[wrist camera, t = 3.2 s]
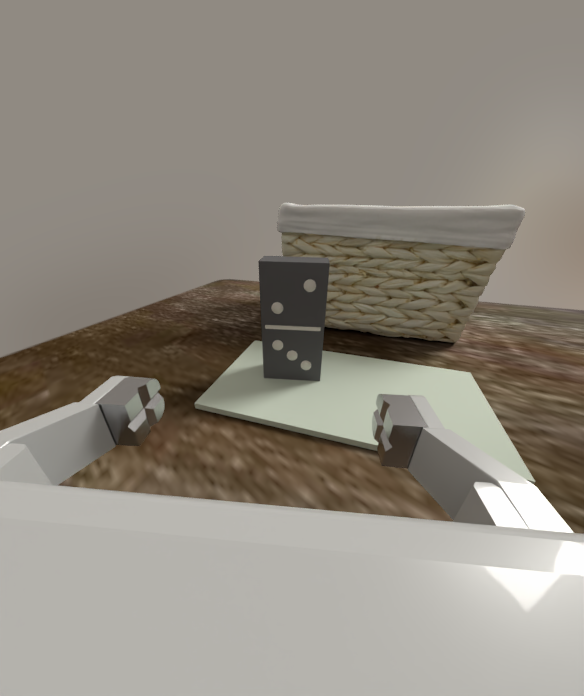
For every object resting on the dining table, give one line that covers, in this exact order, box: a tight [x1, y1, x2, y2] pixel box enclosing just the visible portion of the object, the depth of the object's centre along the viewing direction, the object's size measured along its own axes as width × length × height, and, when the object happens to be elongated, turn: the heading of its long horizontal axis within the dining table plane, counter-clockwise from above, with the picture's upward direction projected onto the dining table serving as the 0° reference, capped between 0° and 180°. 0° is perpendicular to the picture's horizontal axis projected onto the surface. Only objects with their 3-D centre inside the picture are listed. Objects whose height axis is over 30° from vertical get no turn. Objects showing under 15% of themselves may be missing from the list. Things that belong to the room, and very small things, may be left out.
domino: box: [259, 256, 330, 381], centre depth 21 cm, size 5×3×10 cm, turn 86°
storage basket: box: [277, 203, 525, 343], centre depth 34 cm, size 24×16×15 cm
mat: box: [194, 340, 535, 484], centre depth 22 cm, size 22×12×1 cm, turn 74°
